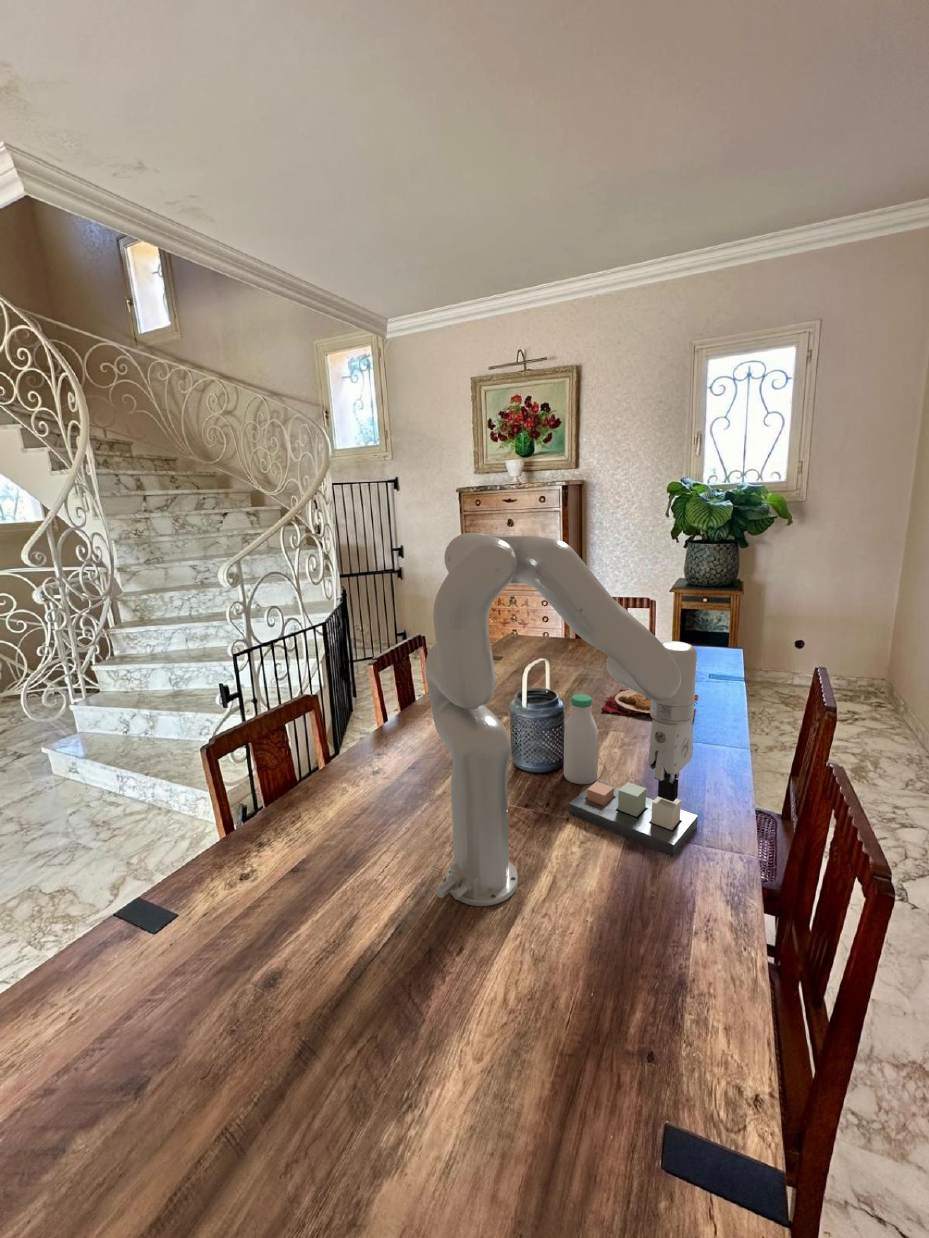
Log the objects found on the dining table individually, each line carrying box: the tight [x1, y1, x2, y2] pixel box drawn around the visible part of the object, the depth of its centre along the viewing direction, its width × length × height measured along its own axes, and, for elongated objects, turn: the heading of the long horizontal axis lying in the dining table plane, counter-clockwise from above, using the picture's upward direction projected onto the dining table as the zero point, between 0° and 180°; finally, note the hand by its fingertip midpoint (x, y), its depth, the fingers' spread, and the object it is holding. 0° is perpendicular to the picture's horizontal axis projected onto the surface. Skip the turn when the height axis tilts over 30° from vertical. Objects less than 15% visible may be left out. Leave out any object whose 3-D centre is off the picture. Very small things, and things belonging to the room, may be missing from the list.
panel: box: [568, 779, 698, 858], centre depth 114 cm, size 12×22×3 cm, turn 48°
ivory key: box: [651, 795, 682, 831], centre depth 108 cm, size 4×4×4 cm
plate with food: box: [601, 688, 699, 722], centre depth 173 cm, size 24×26×3 cm
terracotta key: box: [586, 781, 614, 806], centre depth 118 cm, size 4×4×4 cm
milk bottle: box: [563, 693, 599, 785], centre depth 129 cm, size 8×8×20 cm
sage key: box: [618, 781, 647, 818], centre depth 113 cm, size 4×4×4 cm
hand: (667, 797), depth 108 cm, fingers closed
